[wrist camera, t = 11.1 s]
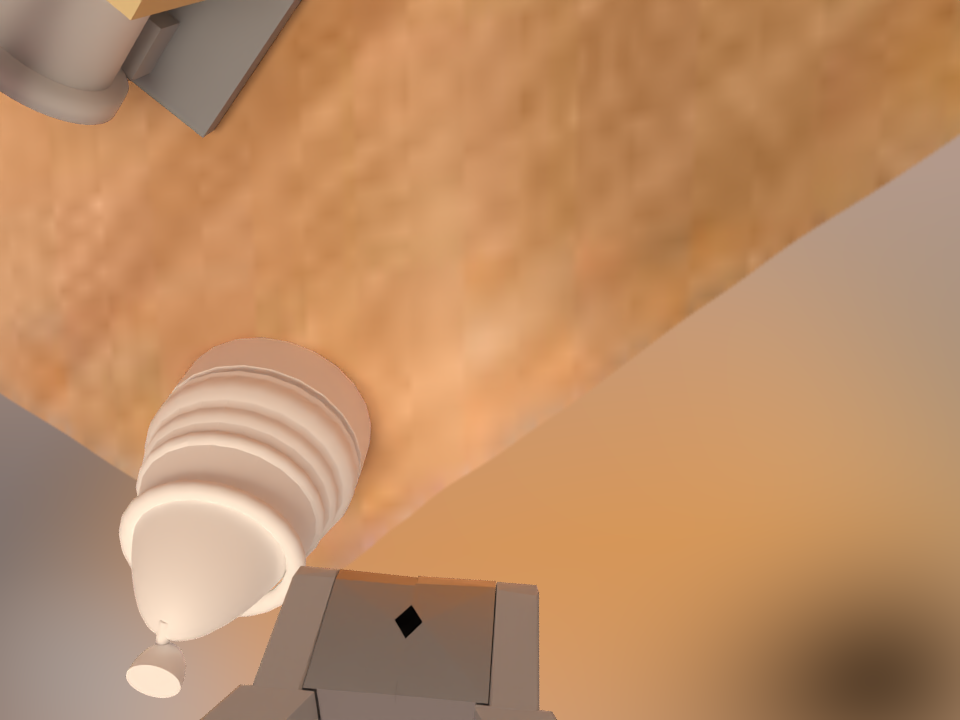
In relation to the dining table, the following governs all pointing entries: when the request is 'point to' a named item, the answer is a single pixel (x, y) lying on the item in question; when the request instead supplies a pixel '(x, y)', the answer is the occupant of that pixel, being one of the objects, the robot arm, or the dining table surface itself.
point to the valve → (134, 54)
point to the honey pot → (236, 492)
